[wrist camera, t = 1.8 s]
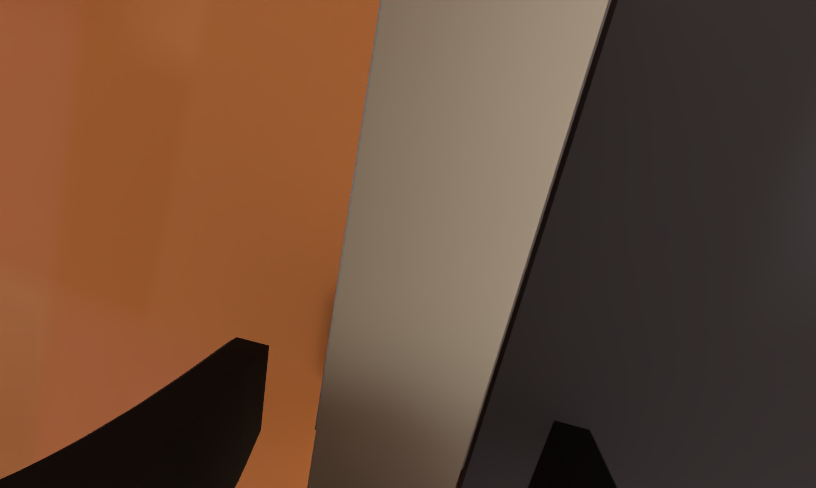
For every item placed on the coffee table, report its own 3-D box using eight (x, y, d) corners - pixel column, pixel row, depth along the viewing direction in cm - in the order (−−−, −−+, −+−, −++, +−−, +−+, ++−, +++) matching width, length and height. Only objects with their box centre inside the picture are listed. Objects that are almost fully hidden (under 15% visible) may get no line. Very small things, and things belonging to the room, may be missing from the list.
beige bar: (576, -57, 9) (622, -33, 4) (386, 621, 16) (333, 879, 12) (460, -81, 9) (392, -83, 5) (324, 603, 16) (250, 852, 12)
